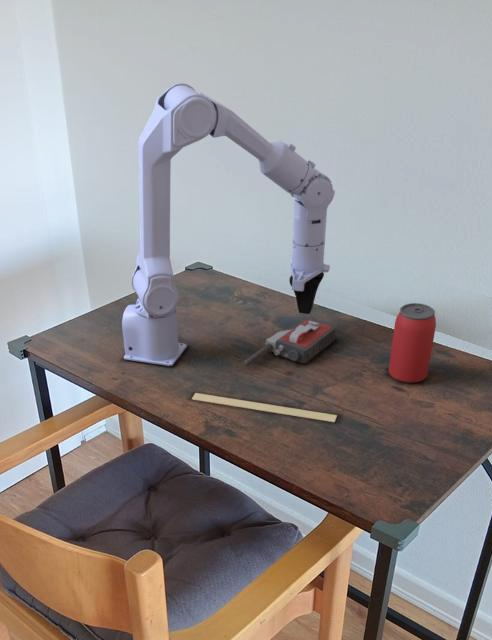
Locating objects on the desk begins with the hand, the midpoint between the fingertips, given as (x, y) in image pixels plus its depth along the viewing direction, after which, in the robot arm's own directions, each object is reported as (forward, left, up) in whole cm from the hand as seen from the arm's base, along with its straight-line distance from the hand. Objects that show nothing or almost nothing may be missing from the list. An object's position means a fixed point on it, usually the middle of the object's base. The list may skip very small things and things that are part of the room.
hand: (305, 312), depth 141 cm
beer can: (+21, -12, -4) cm, 24 cm away
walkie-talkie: (0, -10, -4) cm, 10 cm away
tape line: (0, -29, -4) cm, 29 cm away
